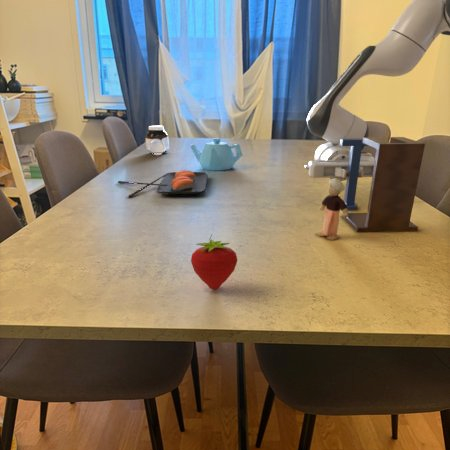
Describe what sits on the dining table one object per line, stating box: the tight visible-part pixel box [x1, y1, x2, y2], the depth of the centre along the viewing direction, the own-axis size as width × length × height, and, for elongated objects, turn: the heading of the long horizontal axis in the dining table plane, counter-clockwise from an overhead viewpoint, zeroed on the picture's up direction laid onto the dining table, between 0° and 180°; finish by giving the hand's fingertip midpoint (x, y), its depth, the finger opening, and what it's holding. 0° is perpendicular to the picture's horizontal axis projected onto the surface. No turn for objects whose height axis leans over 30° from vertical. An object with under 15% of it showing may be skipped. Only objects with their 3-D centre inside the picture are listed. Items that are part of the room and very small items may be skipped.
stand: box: [341, 136, 426, 233], centre depth 99 cm, size 14×12×19 cm
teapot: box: [189, 137, 243, 172], centre depth 165 cm, size 15×15×11 cm
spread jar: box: [145, 125, 170, 156], centre depth 196 cm, size 12×11×12 cm
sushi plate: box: [117, 169, 208, 199], centre depth 138 cm, size 29×30×4 cm
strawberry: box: [190, 234, 238, 291], centre depth 70 cm, size 6×8×10 cm
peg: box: [340, 139, 370, 211], centre depth 112 cm, size 8×5×18 cm, turn 92°
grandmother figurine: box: [317, 179, 349, 241], centre depth 92 cm, size 8×4×13 cm, turn 44°
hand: (353, 174), depth 111 cm, fingers closed on peg, 2 cm apart
